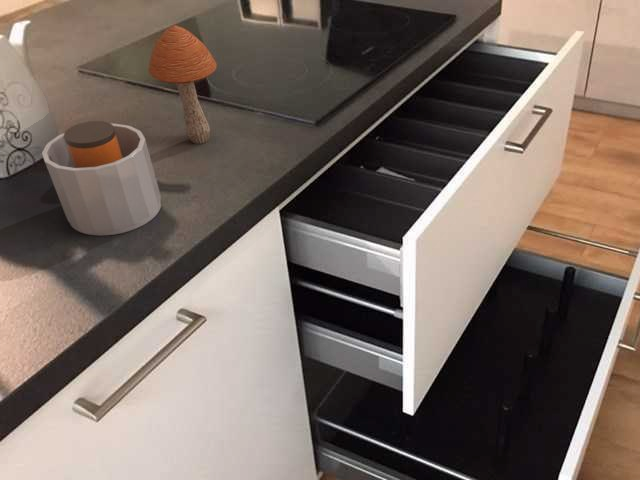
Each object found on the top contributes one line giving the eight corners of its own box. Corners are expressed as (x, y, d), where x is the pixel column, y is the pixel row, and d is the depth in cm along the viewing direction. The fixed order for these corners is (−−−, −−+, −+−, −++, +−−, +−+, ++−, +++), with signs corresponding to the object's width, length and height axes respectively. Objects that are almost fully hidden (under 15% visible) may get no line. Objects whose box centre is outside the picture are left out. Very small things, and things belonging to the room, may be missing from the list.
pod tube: (95, 222, 71) (68, 147, 65) (86, 200, 74) (59, 127, 68) (141, 210, 73) (119, 136, 67) (130, 189, 76) (108, 116, 70)
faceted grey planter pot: (77, 246, 69) (51, 179, 63) (60, 200, 75) (35, 136, 70) (172, 219, 72) (155, 154, 67) (148, 178, 79) (131, 116, 74)
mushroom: (185, 163, 82) (157, 42, 72) (156, 140, 86) (126, 22, 76) (241, 143, 86) (221, 25, 76) (210, 122, 90) (188, 8, 80)
